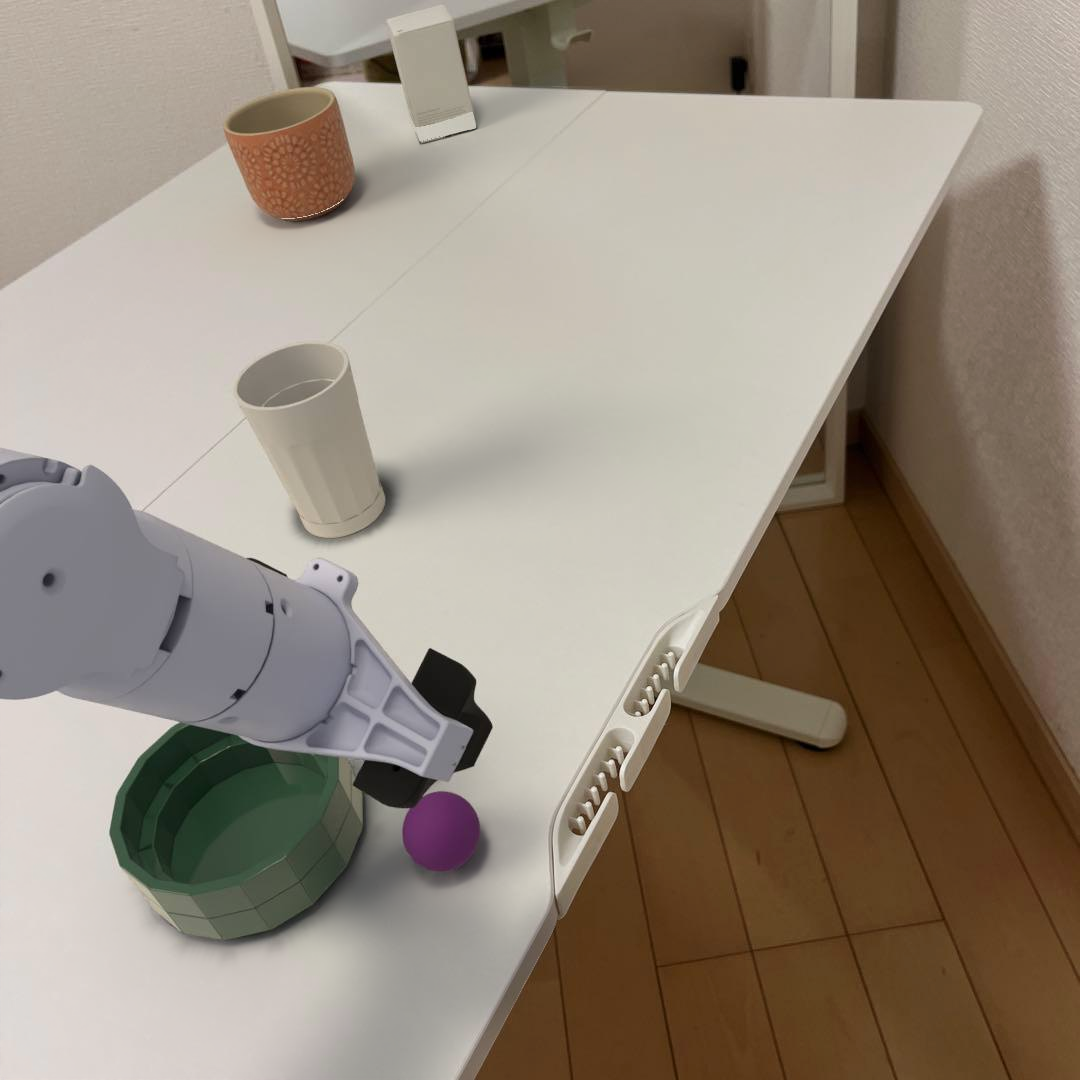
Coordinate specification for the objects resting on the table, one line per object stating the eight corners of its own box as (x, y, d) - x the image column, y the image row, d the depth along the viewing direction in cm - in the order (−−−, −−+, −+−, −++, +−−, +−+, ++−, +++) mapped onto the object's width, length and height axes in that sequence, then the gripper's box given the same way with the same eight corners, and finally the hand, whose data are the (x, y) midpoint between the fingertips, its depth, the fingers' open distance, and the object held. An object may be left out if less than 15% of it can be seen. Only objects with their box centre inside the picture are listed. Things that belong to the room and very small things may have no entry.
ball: (454, 900, 56) (435, 857, 53) (398, 864, 58) (377, 821, 55) (502, 840, 58) (486, 796, 55) (446, 807, 60) (428, 763, 58)
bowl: (248, 988, 54) (210, 938, 51) (107, 874, 61) (65, 823, 58) (410, 805, 61) (385, 750, 57) (266, 720, 67) (236, 666, 64)
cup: (405, 470, 84) (360, 335, 76) (384, 541, 78) (332, 403, 70) (306, 478, 85) (252, 346, 77) (278, 549, 79) (216, 414, 72)
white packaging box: (478, 129, 131) (454, 18, 123) (418, 145, 131) (390, 35, 123) (469, 109, 137) (445, 1, 129) (411, 124, 137) (383, 17, 128)
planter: (317, 238, 117) (282, 138, 110) (235, 227, 123) (197, 131, 116) (387, 185, 124) (359, 88, 117) (306, 177, 130) (275, 84, 123)
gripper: (427, 607, 33) (586, 689, 45) (120, 457, 40) (329, 562, 52) (317, 825, 32) (509, 849, 44) (24, 634, 39) (258, 699, 51)
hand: (407, 704), depth 48 cm, fingers open, 7 cm apart
